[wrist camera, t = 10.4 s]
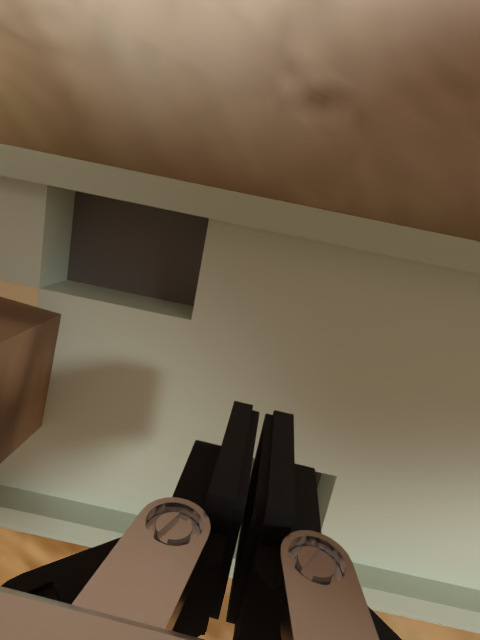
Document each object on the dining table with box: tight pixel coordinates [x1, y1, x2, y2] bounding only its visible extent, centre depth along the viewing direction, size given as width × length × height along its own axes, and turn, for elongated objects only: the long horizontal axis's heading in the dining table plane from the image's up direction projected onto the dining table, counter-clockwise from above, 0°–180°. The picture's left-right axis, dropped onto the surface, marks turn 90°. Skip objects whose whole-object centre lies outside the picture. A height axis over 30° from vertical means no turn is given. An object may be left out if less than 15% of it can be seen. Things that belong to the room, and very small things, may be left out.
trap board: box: [0, 144, 480, 634], centre depth 17 cm, size 26×15×4 cm, turn 79°
